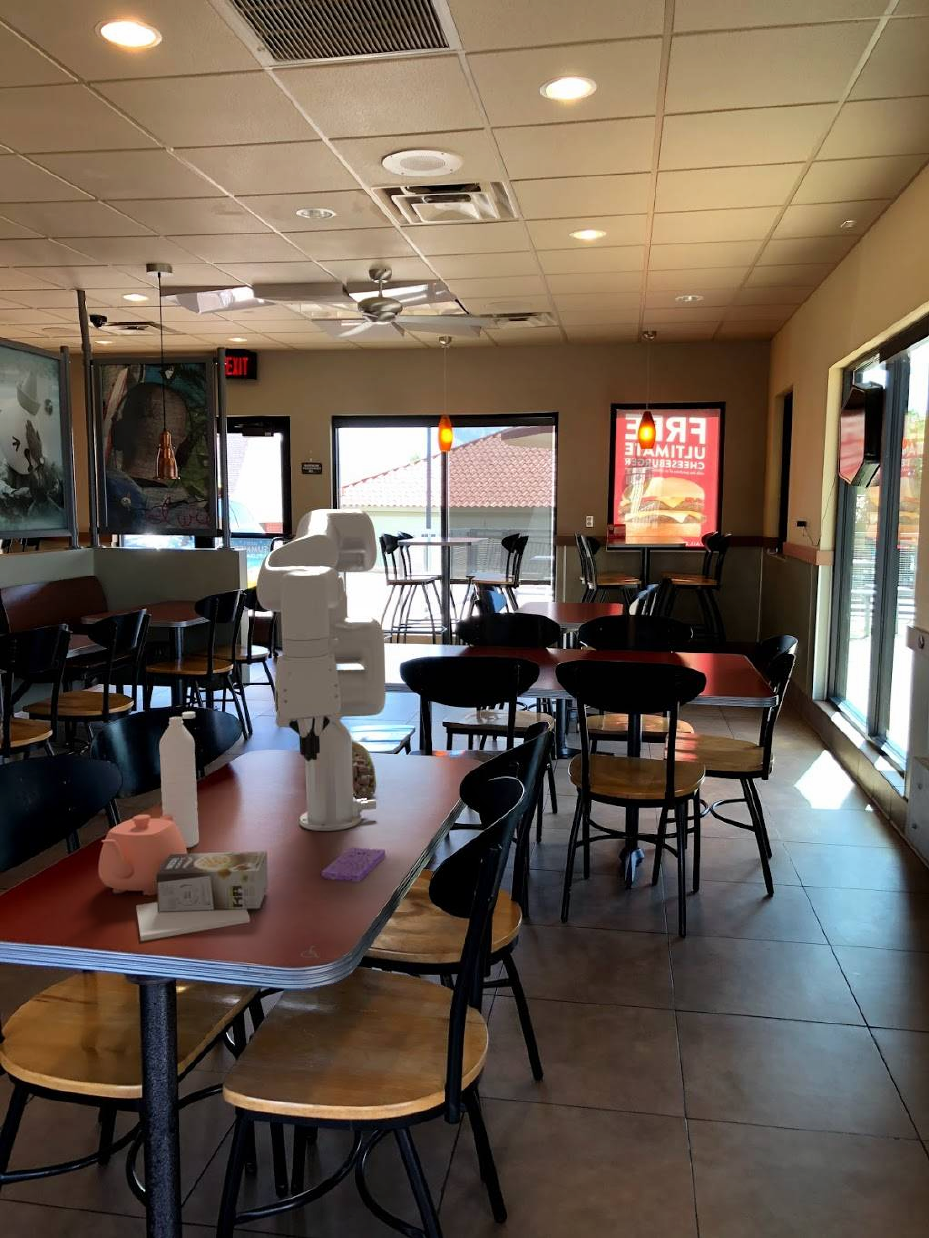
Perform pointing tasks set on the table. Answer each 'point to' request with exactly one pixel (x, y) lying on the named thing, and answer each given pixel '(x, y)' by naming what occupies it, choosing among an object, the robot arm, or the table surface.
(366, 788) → the taco
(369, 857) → the sponges
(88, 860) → the table surface
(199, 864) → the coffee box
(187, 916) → the mat
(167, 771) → the water bottle
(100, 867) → the teapot
